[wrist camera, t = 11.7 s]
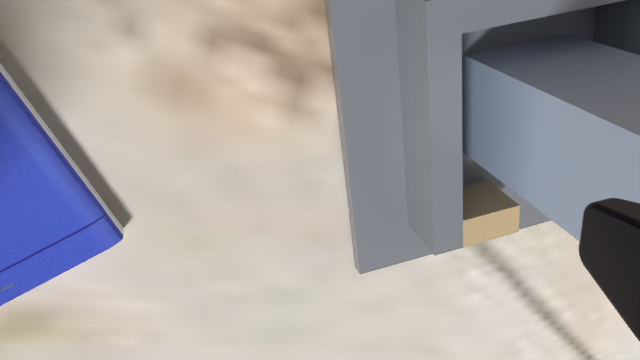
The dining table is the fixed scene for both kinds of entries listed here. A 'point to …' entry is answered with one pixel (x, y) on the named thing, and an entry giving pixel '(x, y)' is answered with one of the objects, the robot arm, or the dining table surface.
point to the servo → (556, 122)
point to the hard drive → (43, 201)
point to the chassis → (435, 114)
